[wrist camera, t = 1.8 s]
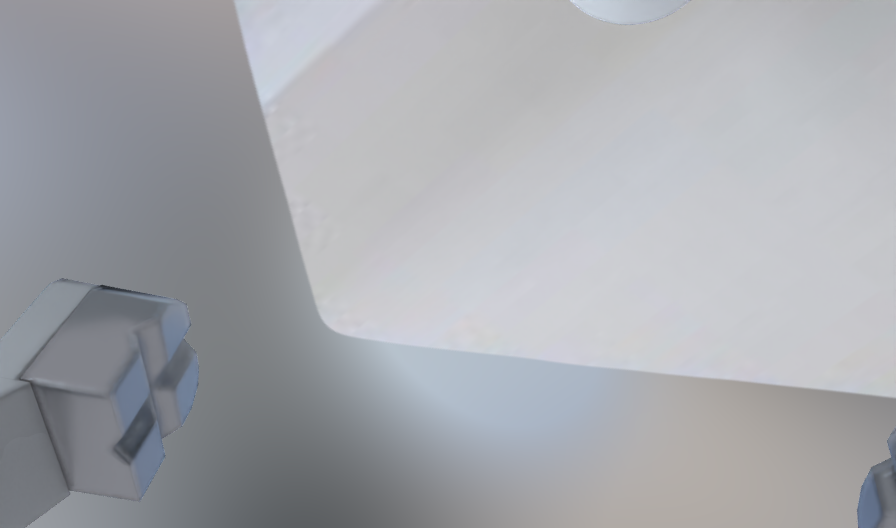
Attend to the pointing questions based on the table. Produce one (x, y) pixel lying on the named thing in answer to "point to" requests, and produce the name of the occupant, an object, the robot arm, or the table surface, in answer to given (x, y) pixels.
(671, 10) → the candle
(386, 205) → the table surface
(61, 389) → the robot arm
